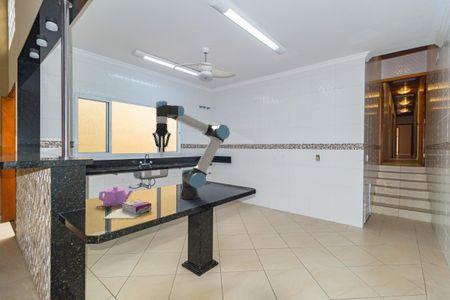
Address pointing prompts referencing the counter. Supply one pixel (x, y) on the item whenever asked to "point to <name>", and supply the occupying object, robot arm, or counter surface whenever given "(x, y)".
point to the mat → (121, 215)
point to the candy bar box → (136, 206)
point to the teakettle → (114, 196)
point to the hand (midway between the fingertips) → (161, 156)
